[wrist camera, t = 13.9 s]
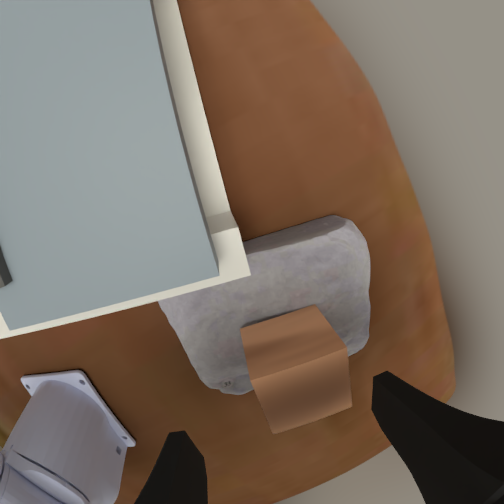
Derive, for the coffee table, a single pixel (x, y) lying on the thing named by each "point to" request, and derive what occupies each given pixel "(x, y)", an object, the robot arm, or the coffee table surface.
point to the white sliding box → (203, 170)
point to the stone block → (276, 297)
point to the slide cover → (91, 162)
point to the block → (297, 368)
